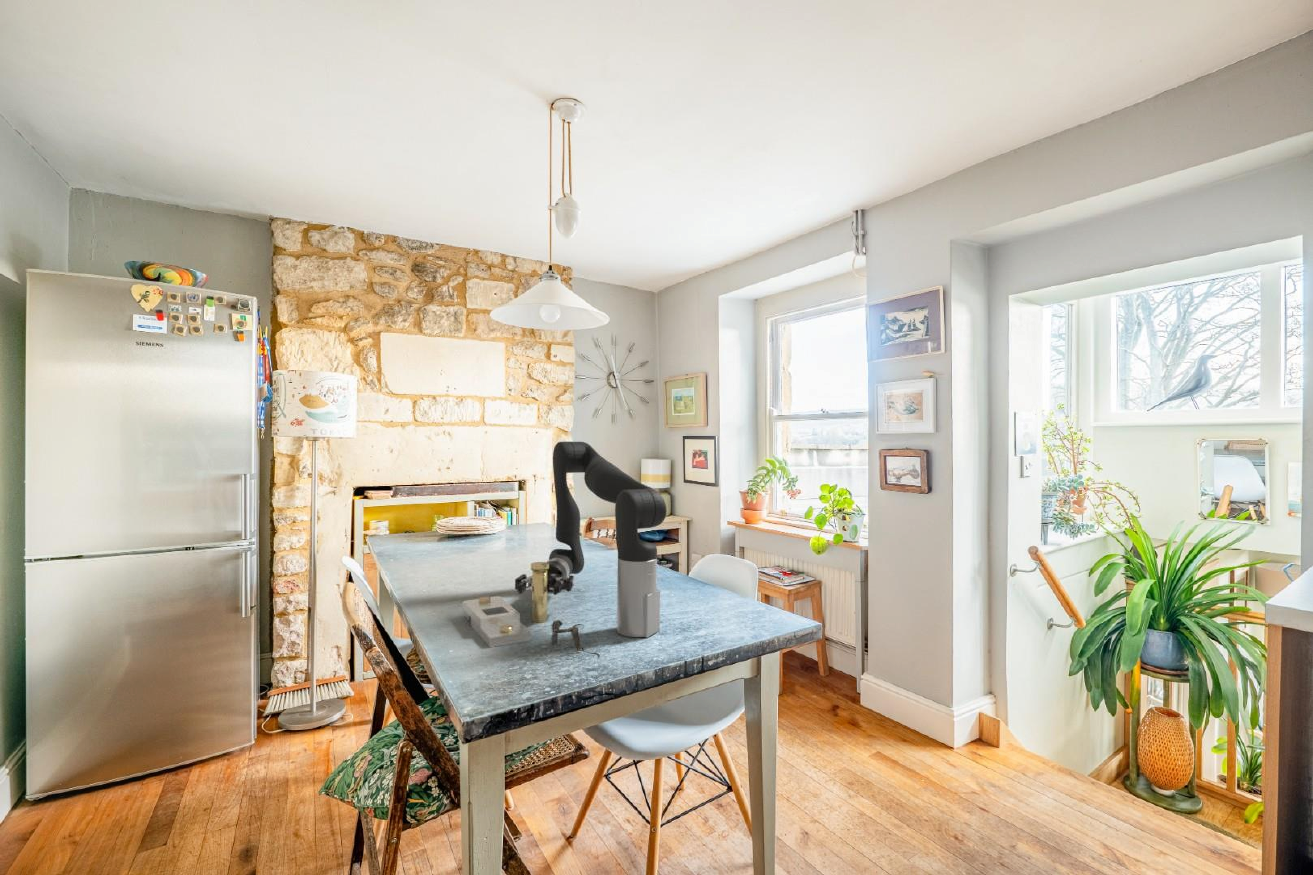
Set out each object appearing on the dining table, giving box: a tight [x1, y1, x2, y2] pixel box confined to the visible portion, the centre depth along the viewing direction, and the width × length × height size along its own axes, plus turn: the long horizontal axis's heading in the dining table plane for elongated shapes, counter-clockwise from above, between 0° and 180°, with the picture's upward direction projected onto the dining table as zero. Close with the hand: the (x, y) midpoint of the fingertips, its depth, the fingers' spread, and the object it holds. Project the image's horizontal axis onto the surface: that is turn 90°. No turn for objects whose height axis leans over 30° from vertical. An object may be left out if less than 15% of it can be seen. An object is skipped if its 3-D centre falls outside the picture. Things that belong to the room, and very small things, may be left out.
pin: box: [530, 561, 549, 624], centre depth 143 cm, size 4×4×14 cm
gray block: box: [462, 595, 531, 648], centre depth 137 cm, size 24×9×5 cm, turn 32°
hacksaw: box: [551, 619, 601, 659], centre depth 130 cm, size 24×10×2 cm, turn 8°
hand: (537, 590), depth 141 cm, fingers open, 8 cm apart
